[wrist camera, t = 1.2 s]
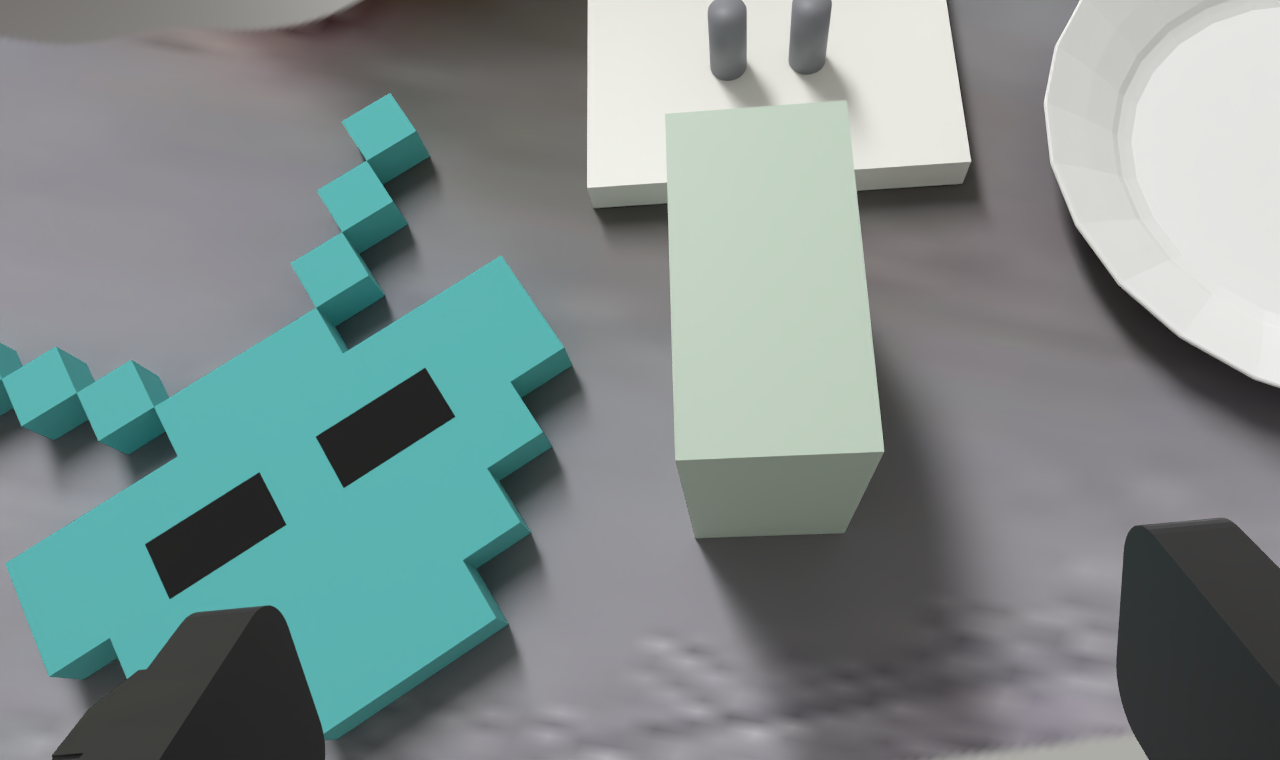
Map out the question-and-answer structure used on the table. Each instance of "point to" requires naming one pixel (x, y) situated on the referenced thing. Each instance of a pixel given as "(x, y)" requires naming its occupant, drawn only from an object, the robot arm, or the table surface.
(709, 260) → the pale green square block
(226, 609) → the robot arm
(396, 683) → the alien figure
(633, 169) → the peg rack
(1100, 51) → the plate
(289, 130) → the table surface
